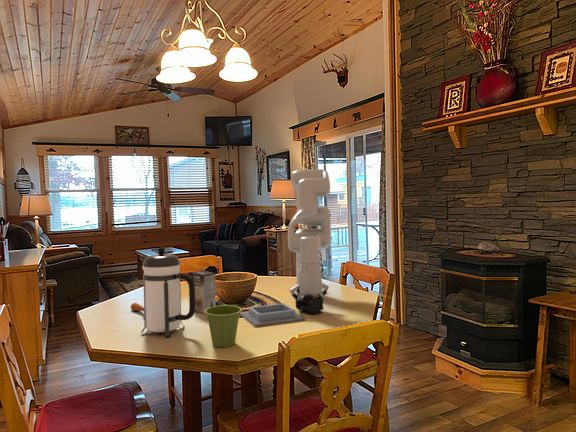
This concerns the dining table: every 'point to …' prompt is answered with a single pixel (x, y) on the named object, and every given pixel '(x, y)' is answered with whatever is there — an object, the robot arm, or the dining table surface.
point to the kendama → (137, 307)
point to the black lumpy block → (311, 304)
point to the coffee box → (204, 290)
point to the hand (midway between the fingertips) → (309, 308)
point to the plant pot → (223, 324)
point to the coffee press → (164, 293)
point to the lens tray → (271, 315)
